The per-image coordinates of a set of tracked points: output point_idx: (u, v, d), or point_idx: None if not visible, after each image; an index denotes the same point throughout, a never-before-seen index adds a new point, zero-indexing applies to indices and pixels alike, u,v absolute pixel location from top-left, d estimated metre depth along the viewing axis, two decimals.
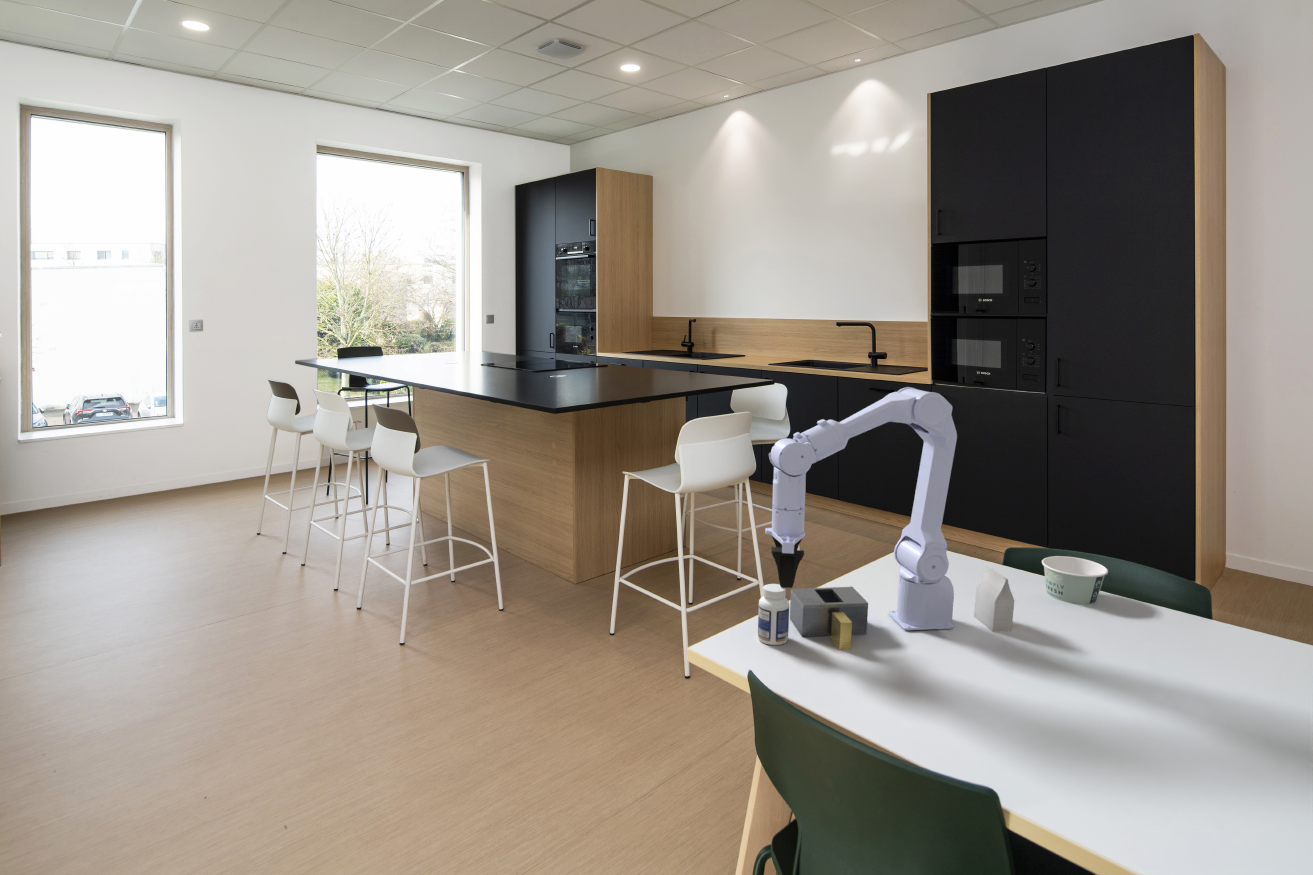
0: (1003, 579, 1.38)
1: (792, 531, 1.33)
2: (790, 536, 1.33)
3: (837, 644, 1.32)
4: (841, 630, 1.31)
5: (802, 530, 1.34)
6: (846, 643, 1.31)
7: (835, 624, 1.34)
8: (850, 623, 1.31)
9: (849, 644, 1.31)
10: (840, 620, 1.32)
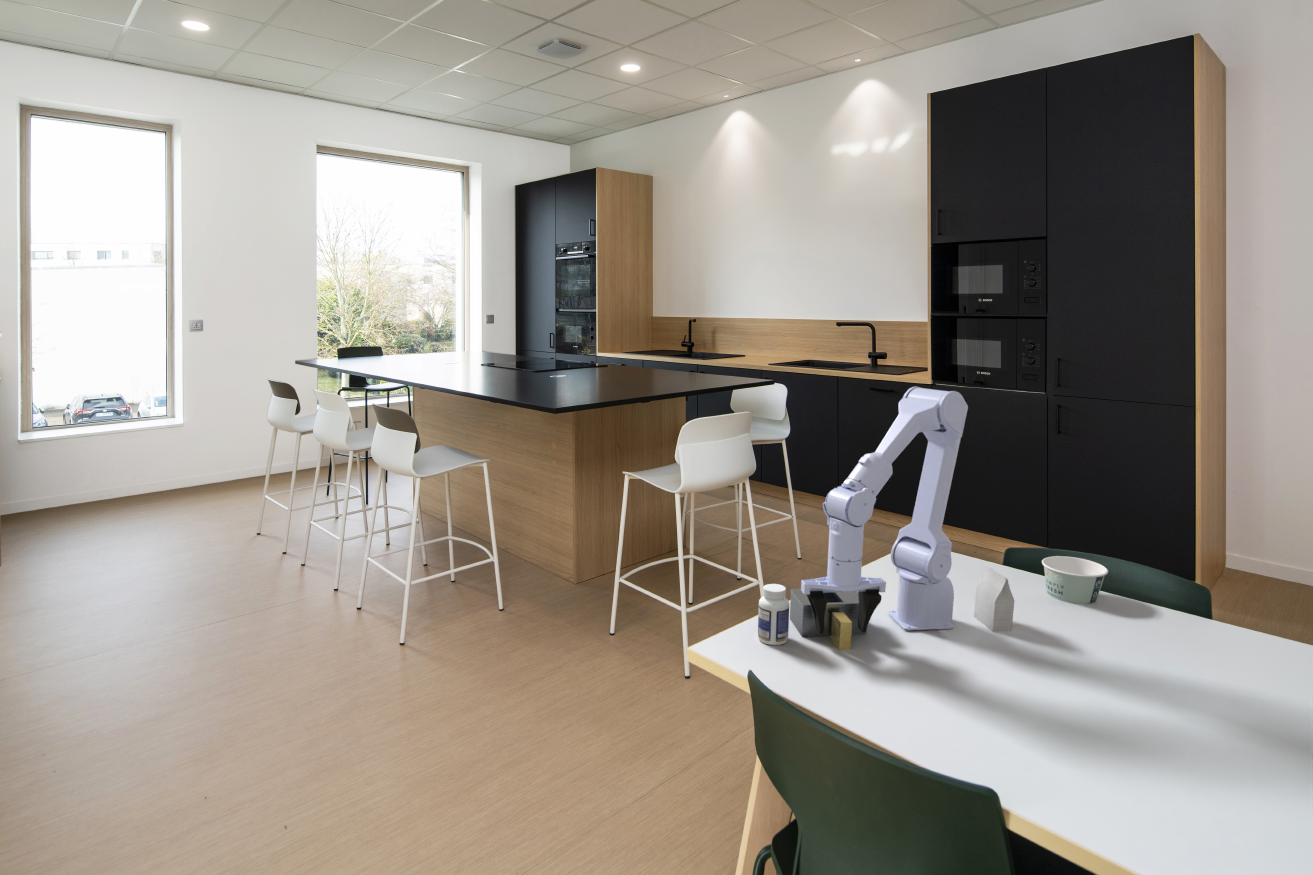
0: (1003, 579, 1.38)
1: (829, 579, 1.31)
2: (827, 583, 1.31)
3: (837, 644, 1.32)
4: (841, 630, 1.31)
5: (841, 583, 1.29)
6: (846, 643, 1.31)
7: (835, 624, 1.34)
8: (850, 623, 1.31)
9: (849, 644, 1.31)
10: (840, 620, 1.32)
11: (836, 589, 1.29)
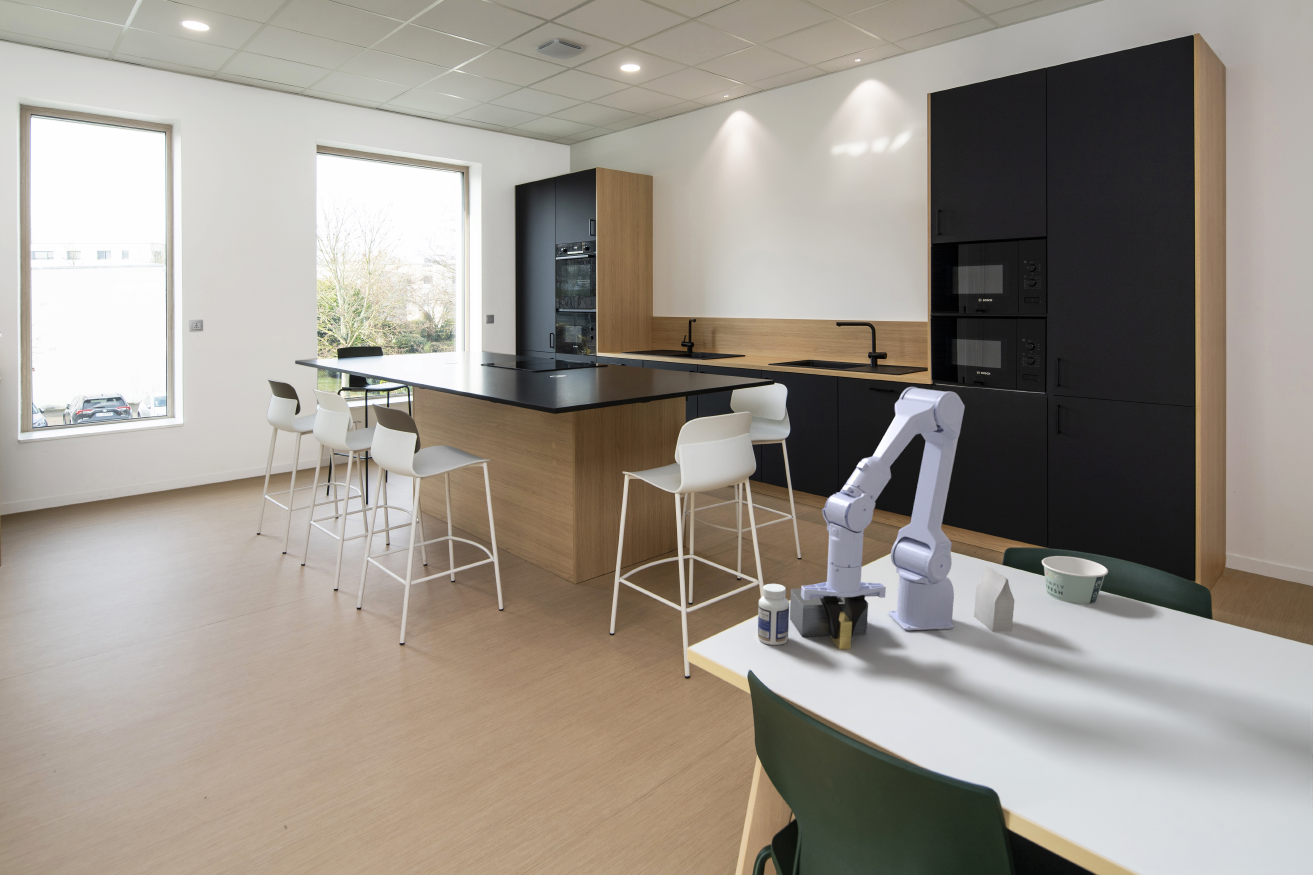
0: (1003, 579, 1.38)
1: (829, 584, 1.31)
2: (827, 588, 1.31)
3: (837, 643, 1.32)
4: (841, 630, 1.31)
5: (841, 589, 1.29)
6: (845, 643, 1.31)
7: None
8: (850, 623, 1.31)
9: (849, 644, 1.31)
10: (840, 620, 1.32)
11: (836, 595, 1.29)
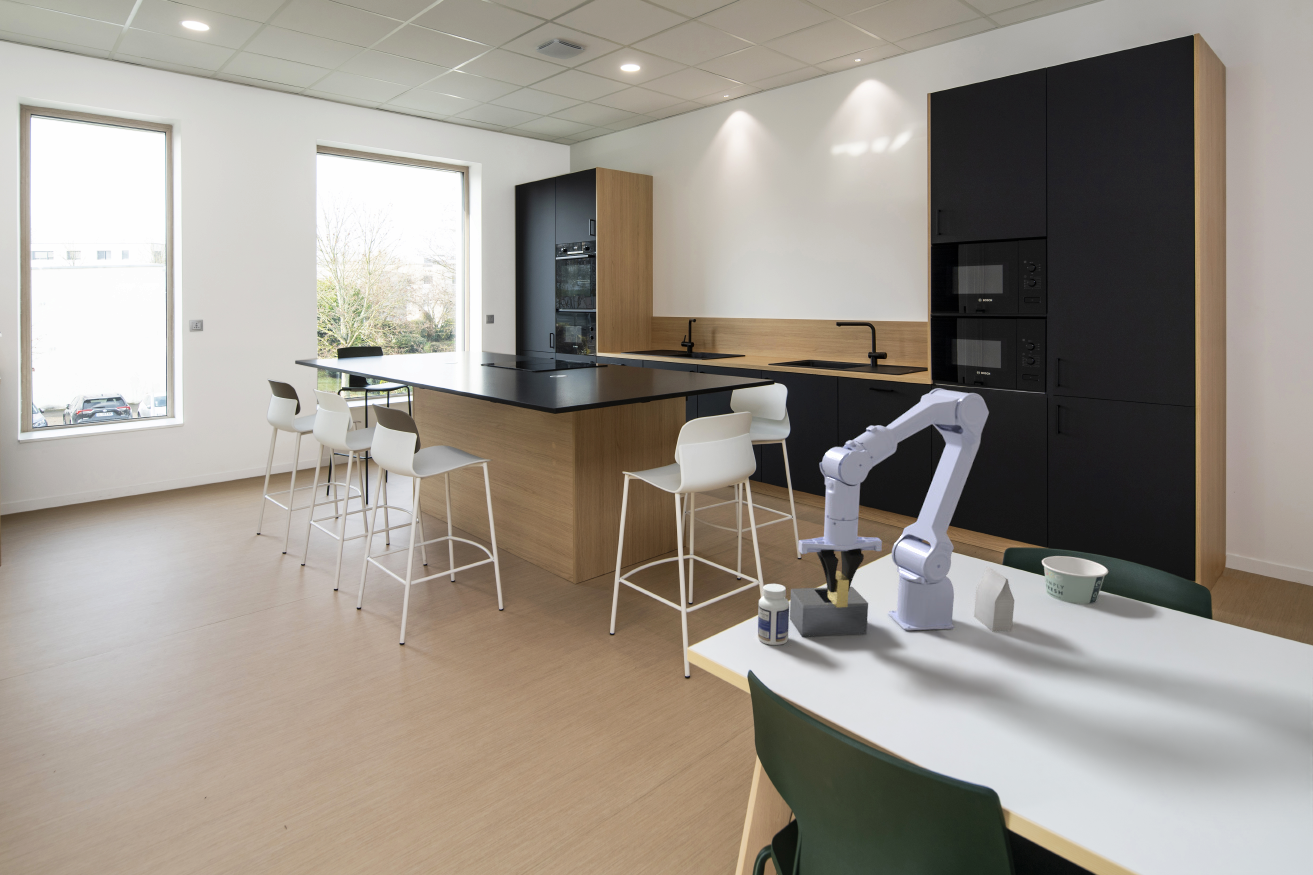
0: (1003, 579, 1.38)
1: (826, 538, 1.32)
2: (824, 542, 1.33)
3: (834, 602, 1.34)
4: (838, 588, 1.32)
5: (838, 542, 1.31)
6: (842, 601, 1.33)
7: None
8: (847, 581, 1.32)
9: (846, 602, 1.33)
10: (837, 578, 1.33)
11: (833, 548, 1.31)
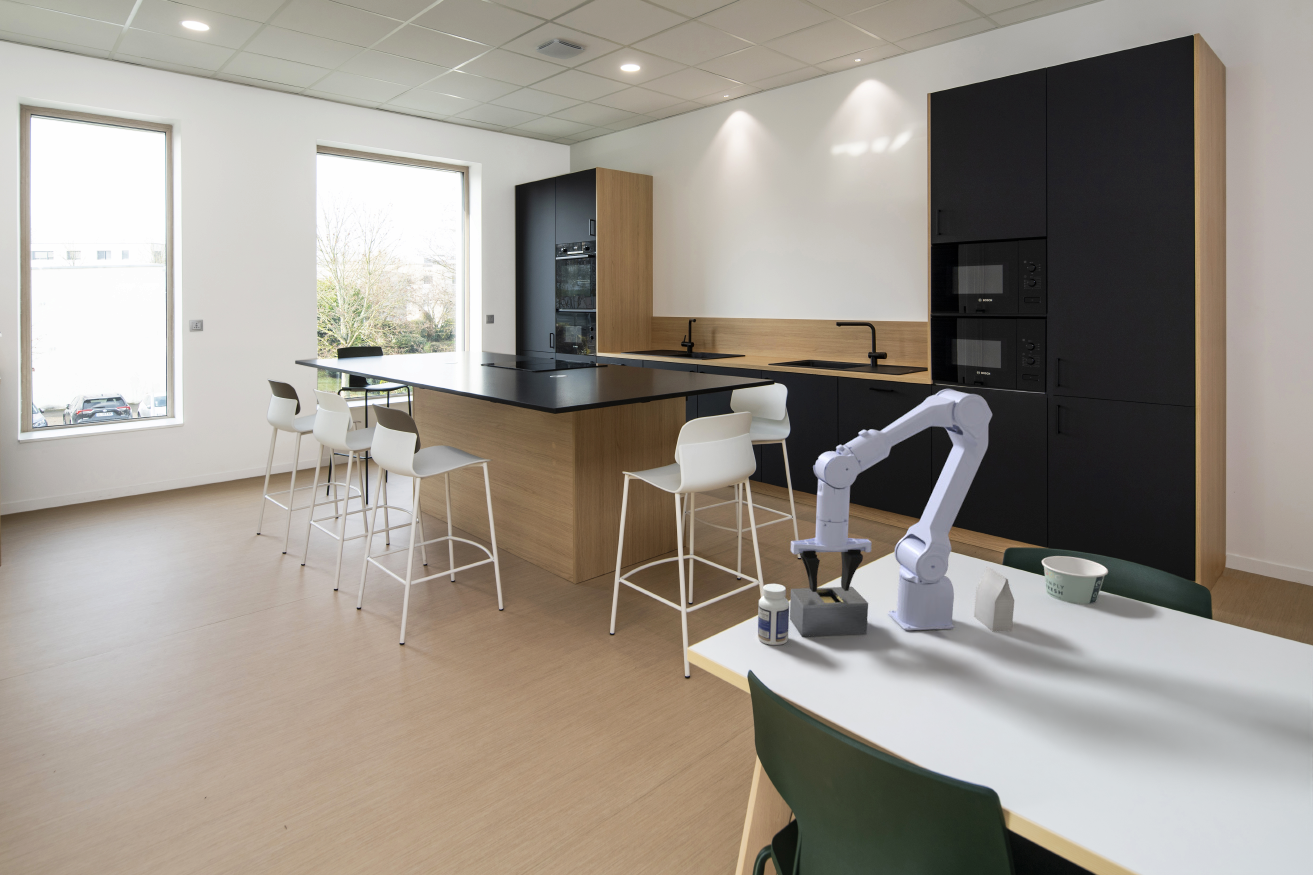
0: (1003, 579, 1.38)
1: (817, 539, 1.37)
2: (815, 543, 1.37)
3: None
4: None
5: (829, 543, 1.35)
6: None
7: None
8: None
9: None
10: None
11: (824, 549, 1.36)
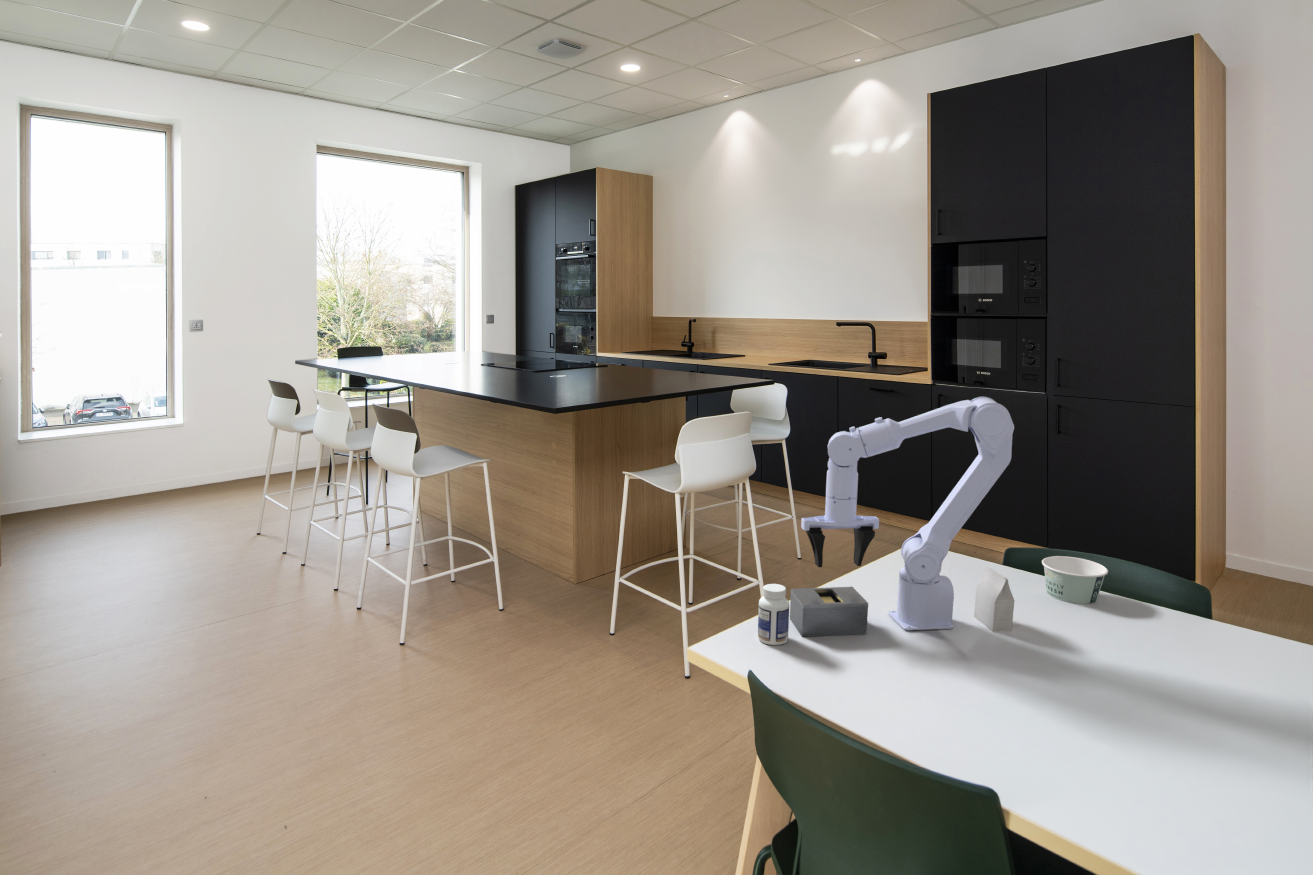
0: (1003, 579, 1.38)
1: (827, 516, 1.42)
2: (825, 520, 1.43)
3: None
4: None
5: (838, 519, 1.41)
6: None
7: None
8: None
9: None
10: None
11: (833, 525, 1.41)
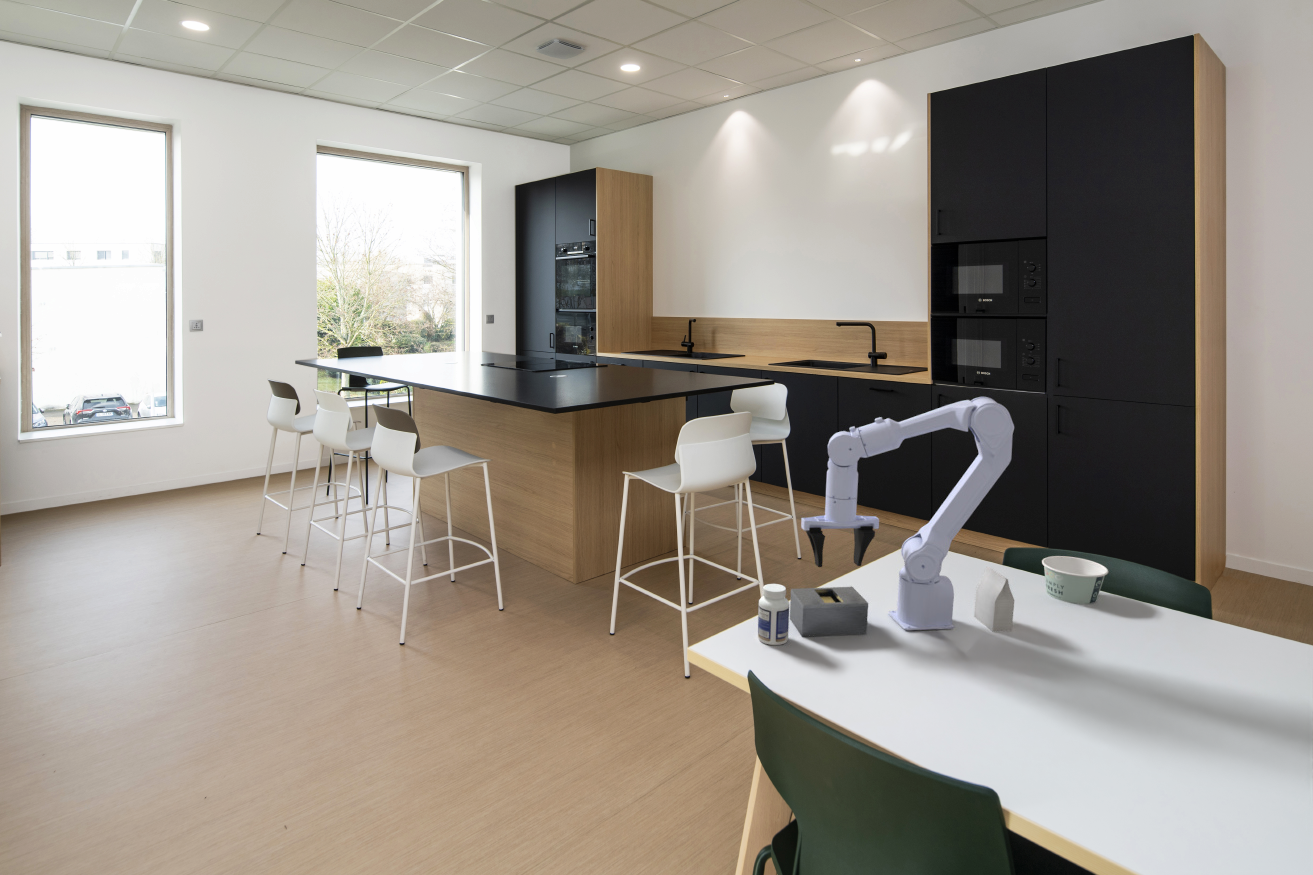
0: (1003, 579, 1.38)
1: (827, 516, 1.42)
2: (825, 520, 1.43)
3: None
4: None
5: (838, 519, 1.41)
6: None
7: None
8: None
9: None
10: None
11: (833, 525, 1.41)
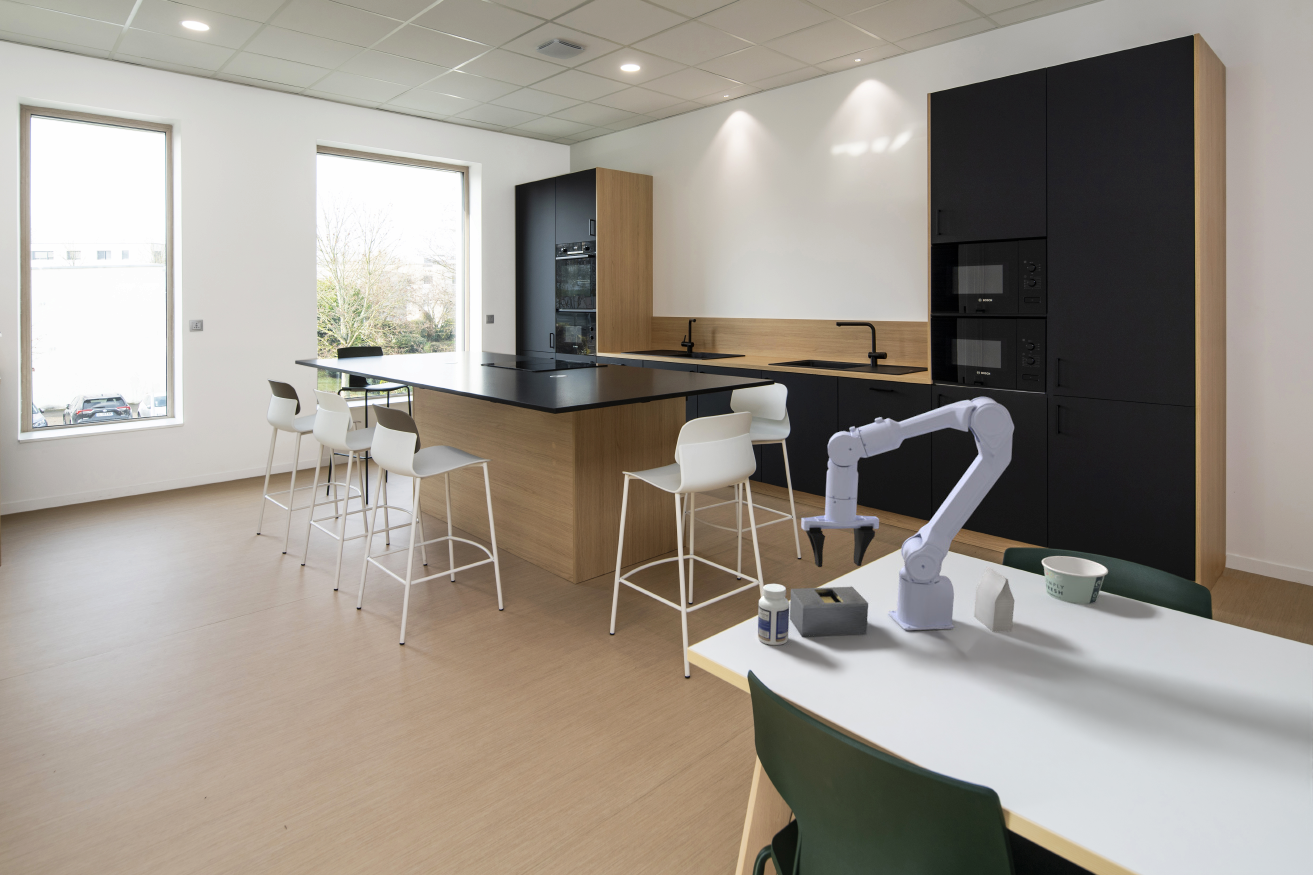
0: (1003, 579, 1.38)
1: (827, 516, 1.42)
2: (825, 520, 1.43)
3: None
4: None
5: (838, 519, 1.41)
6: None
7: None
8: None
9: None
10: None
11: (833, 525, 1.41)
